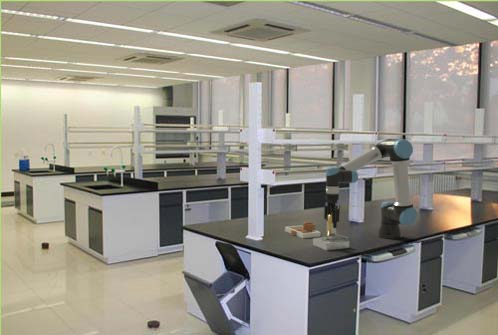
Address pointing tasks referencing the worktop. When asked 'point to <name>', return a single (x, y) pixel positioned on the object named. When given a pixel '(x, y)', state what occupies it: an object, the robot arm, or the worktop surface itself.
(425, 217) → the worktop surface
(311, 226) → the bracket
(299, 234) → the cradle
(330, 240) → the jig
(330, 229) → the gold brass cylinder
